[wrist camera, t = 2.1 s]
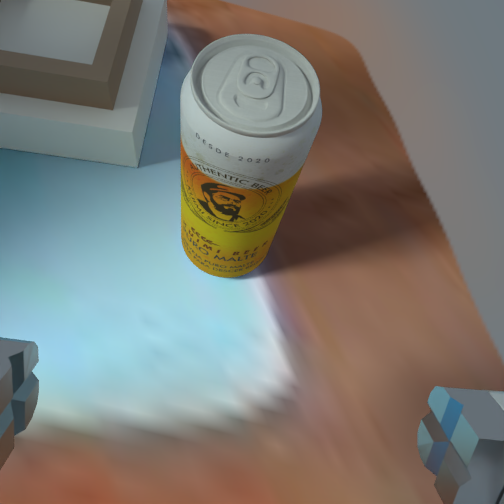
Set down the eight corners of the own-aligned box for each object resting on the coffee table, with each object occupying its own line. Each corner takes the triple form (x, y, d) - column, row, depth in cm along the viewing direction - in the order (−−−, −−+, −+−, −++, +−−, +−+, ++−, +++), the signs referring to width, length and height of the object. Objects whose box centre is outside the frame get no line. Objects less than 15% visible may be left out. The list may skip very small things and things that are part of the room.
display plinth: (-63, 138, 32) (-119, 66, 26) (-1, 5, 38) (-34, -78, 32) (137, 167, 33) (127, 105, 27) (168, 34, 39) (165, -41, 33)
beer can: (170, 269, 30) (160, 117, 17) (194, 194, 33) (202, 11, 19) (258, 291, 31) (318, 159, 17) (275, 215, 33) (338, 48, 20)
